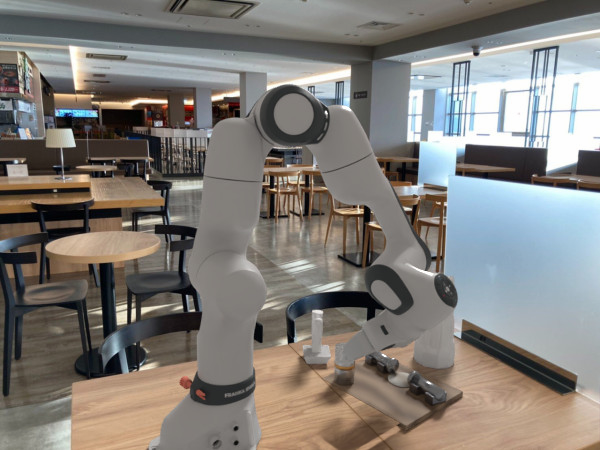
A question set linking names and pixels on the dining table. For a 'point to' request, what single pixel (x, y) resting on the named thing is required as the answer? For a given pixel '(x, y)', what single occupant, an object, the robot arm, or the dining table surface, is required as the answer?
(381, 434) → the dining table surface
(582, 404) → the dining table surface
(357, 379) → the walnut base board
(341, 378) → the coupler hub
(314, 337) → the white peg on base
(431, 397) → the near steel shaft
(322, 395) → the dining table surface
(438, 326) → the decorative vase
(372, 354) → the far steel shaft
